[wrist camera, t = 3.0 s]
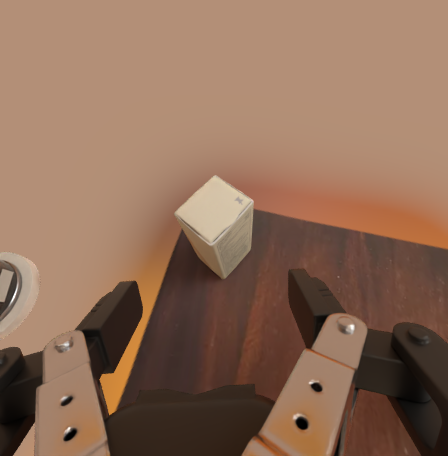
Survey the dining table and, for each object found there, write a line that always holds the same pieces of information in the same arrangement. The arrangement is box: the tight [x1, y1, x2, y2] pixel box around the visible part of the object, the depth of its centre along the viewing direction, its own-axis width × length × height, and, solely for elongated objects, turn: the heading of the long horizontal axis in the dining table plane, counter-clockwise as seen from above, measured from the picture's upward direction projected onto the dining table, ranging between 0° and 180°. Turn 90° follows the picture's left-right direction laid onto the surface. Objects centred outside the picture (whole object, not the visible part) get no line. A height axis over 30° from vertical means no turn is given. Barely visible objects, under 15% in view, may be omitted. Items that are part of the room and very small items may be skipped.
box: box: [174, 176, 253, 279], centre depth 23 cm, size 5×4×11 cm
